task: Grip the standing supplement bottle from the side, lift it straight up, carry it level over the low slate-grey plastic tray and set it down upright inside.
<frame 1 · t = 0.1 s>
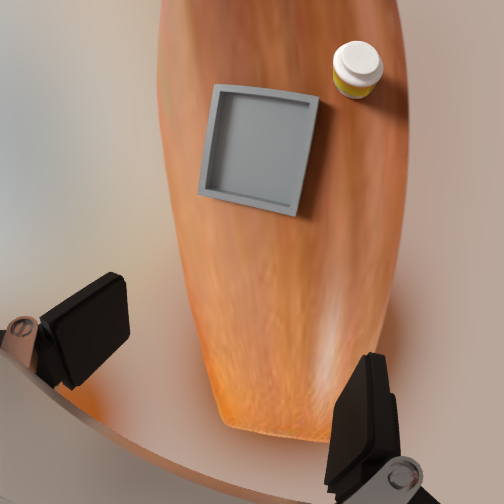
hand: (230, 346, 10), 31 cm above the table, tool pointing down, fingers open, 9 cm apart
tray: (259, 146, 37), on the table
supplement bottle: (353, 80, 31), on the table
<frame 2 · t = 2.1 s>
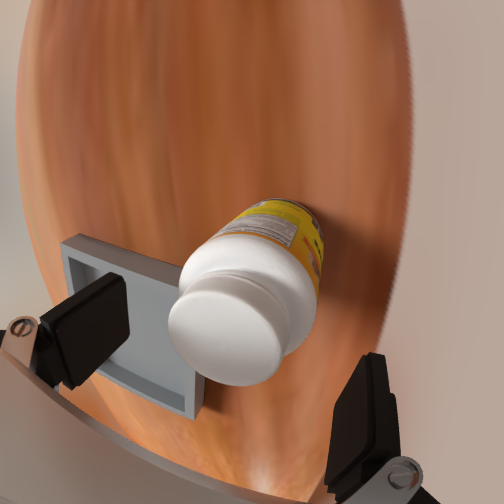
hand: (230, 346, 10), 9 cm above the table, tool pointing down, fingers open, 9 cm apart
tray: (140, 328, 25), on the table
supplement bottle: (281, 238, 18), on the table
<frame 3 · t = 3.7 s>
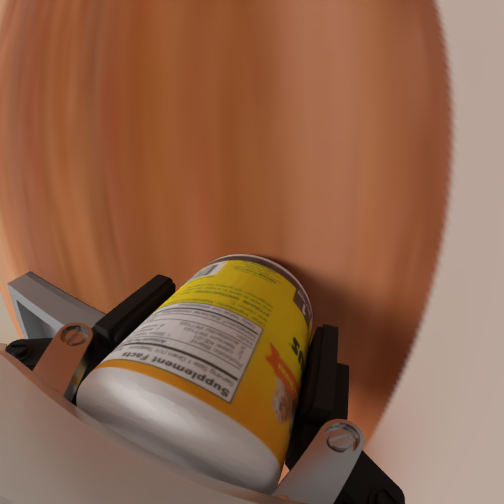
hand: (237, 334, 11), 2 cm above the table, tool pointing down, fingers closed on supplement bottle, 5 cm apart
tray: (100, 380, 19), on the table
supplement bottle: (253, 305, 13), on the table, touching gripper
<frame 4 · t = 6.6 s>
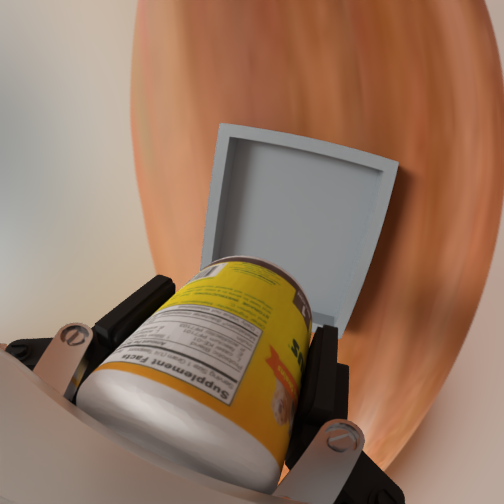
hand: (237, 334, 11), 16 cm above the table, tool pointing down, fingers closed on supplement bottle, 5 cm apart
tray: (291, 229, 25), on the table
supplement bottle: (252, 307, 13), point 13 cm above the table, touching gripper
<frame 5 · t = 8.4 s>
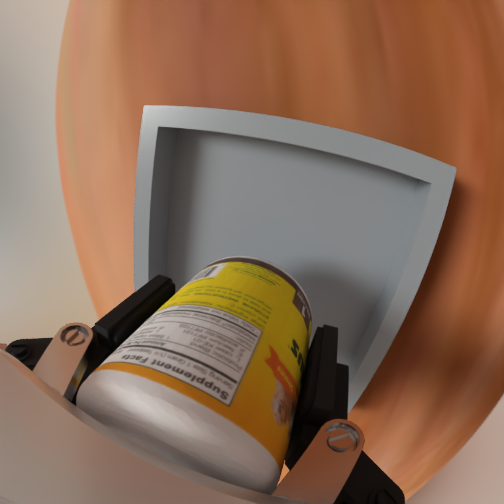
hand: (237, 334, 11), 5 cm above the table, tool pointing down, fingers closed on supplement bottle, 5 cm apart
tray: (269, 275, 15), on the table
supplement bottle: (252, 307, 13), point 3 cm above the table, touching gripper
when the fingers open (4 cm above the table, at t = 9.6 s): supplement bottle drops 1 cm, resting on tray.
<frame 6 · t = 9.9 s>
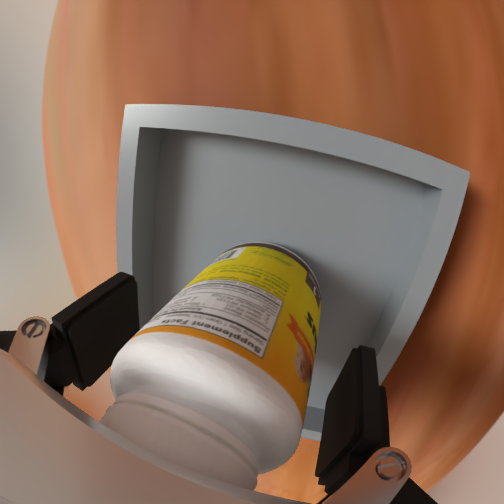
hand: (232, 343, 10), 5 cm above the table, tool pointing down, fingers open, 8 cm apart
tray: (262, 288, 14), on the table
supplement bottle: (265, 290, 14), resting on tray
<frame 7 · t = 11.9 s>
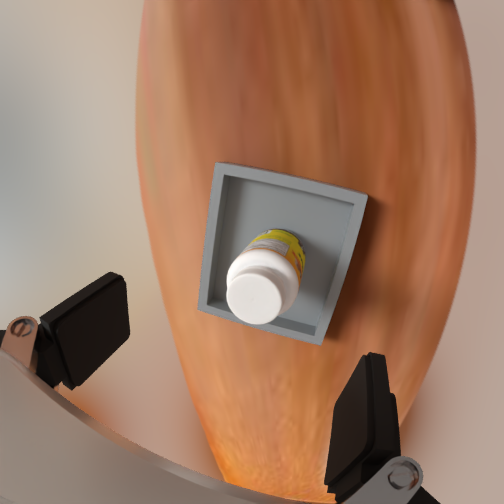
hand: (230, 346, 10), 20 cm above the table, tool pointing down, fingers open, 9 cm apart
tray: (277, 252, 29), on the table
supplement bottle: (279, 252, 29), resting on tray
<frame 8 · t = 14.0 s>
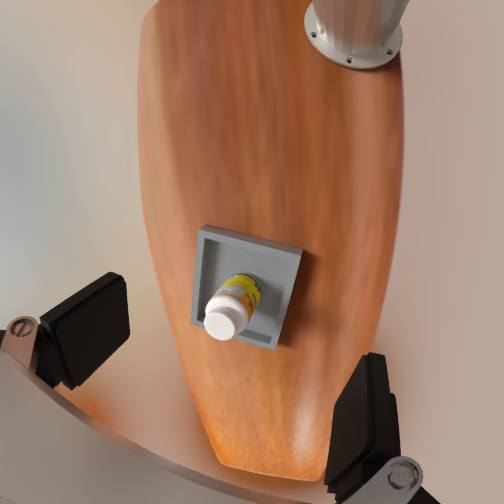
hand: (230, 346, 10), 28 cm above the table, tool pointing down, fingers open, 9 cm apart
tray: (244, 286, 42), on the table
supplement bottle: (244, 287, 41), resting on tray
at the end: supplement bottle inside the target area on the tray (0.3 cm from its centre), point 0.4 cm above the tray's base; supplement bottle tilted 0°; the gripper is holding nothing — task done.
